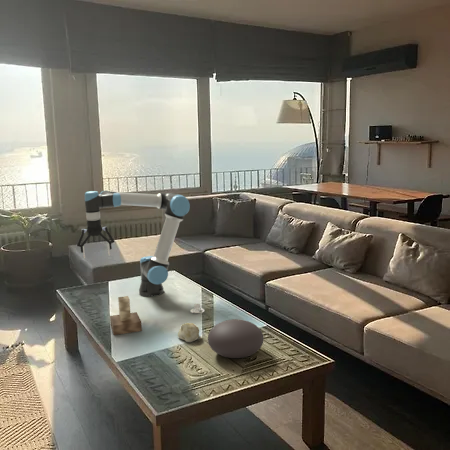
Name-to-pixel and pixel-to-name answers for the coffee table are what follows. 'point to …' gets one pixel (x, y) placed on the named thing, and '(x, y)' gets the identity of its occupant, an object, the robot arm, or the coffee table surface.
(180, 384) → the coffee table surface
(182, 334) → the decorative item
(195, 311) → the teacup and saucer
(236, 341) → the flattened ellipsoid
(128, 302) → the beech block
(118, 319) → the walnut block
